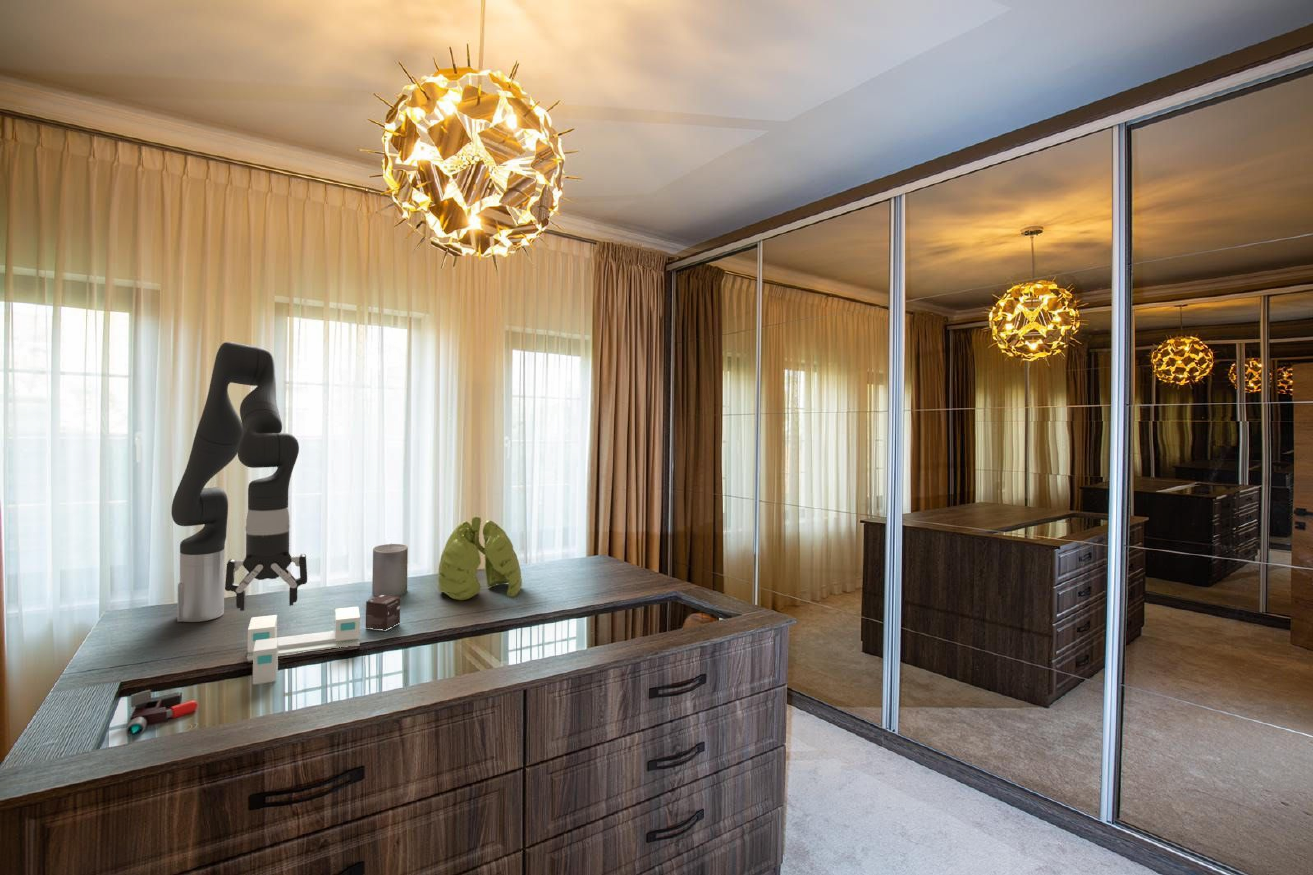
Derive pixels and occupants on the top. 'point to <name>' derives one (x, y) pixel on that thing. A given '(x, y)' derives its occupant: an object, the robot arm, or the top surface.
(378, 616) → the box
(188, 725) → the top surface
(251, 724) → the top surface
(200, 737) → the top surface
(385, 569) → the pillar candle
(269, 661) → the block
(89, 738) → the top surface
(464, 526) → the lungs
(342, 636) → the board
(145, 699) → the toy gun
